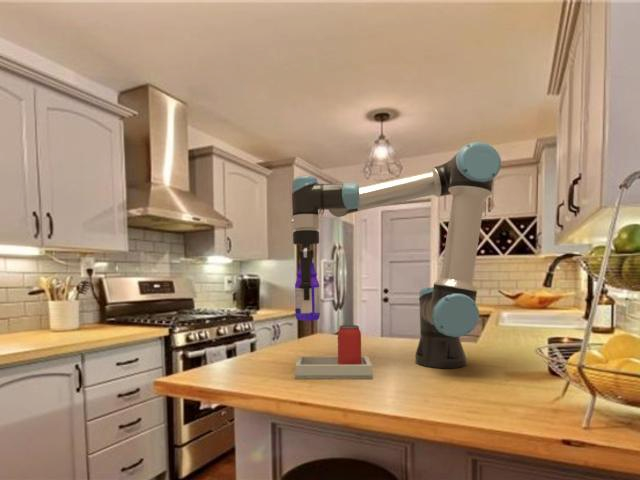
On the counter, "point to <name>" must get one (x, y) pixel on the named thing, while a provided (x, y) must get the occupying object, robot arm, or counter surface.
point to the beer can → (349, 345)
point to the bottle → (315, 297)
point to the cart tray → (331, 368)
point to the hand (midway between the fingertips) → (307, 310)
